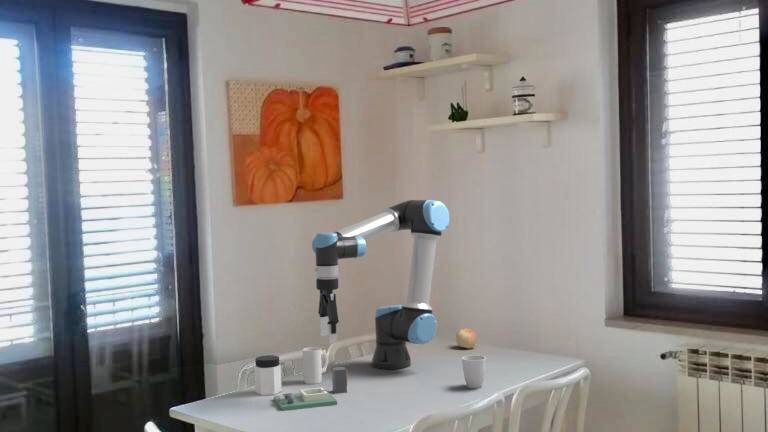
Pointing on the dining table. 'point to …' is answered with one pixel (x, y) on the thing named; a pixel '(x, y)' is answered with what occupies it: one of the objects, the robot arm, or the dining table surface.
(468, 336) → the apple
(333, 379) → the plug
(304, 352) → the mug
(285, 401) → the board
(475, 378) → the cup
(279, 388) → the jar
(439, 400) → the dining table surface
